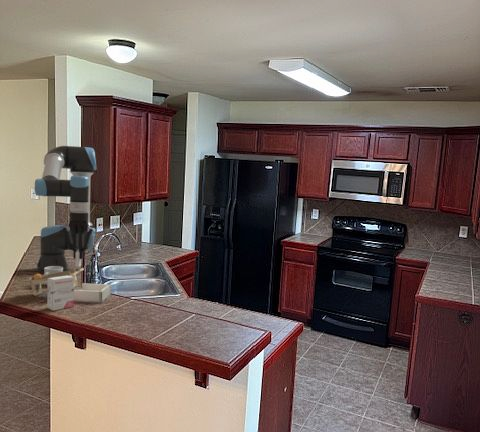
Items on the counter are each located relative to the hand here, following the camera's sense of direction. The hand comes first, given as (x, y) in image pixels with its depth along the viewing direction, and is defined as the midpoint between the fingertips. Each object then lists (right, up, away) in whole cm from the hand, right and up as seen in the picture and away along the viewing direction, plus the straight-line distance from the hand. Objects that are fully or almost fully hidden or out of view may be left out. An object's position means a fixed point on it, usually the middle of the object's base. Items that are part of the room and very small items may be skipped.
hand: (78, 266), depth 194 cm
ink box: (+1, -14, -22) cm, 26 cm away
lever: (-6, -9, -3) cm, 11 cm away
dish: (+8, -12, -8) cm, 17 cm away
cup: (-15, -10, +9) cm, 20 cm away
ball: (-14, -4, -8) cm, 16 cm away
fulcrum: (-7, -12, -7) cm, 16 cm away
